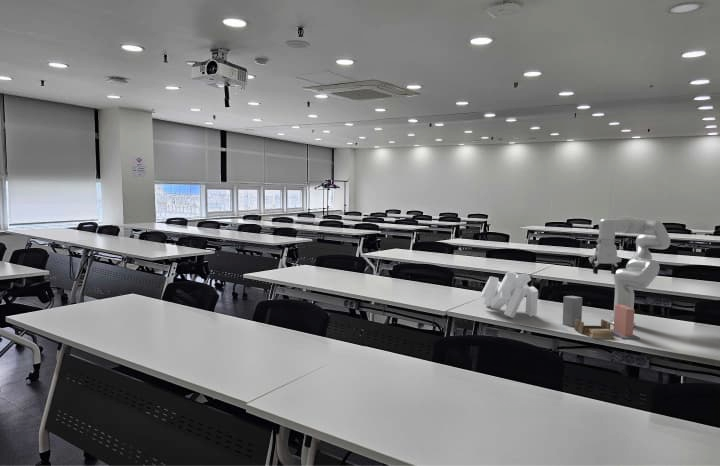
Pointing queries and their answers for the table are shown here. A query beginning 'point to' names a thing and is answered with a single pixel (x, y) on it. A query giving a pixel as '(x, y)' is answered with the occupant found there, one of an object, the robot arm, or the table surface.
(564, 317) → the skincare box
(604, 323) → the rack
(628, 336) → the slate mat
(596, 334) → the offcut stack
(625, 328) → the pink block
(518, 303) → the pile of blocks
